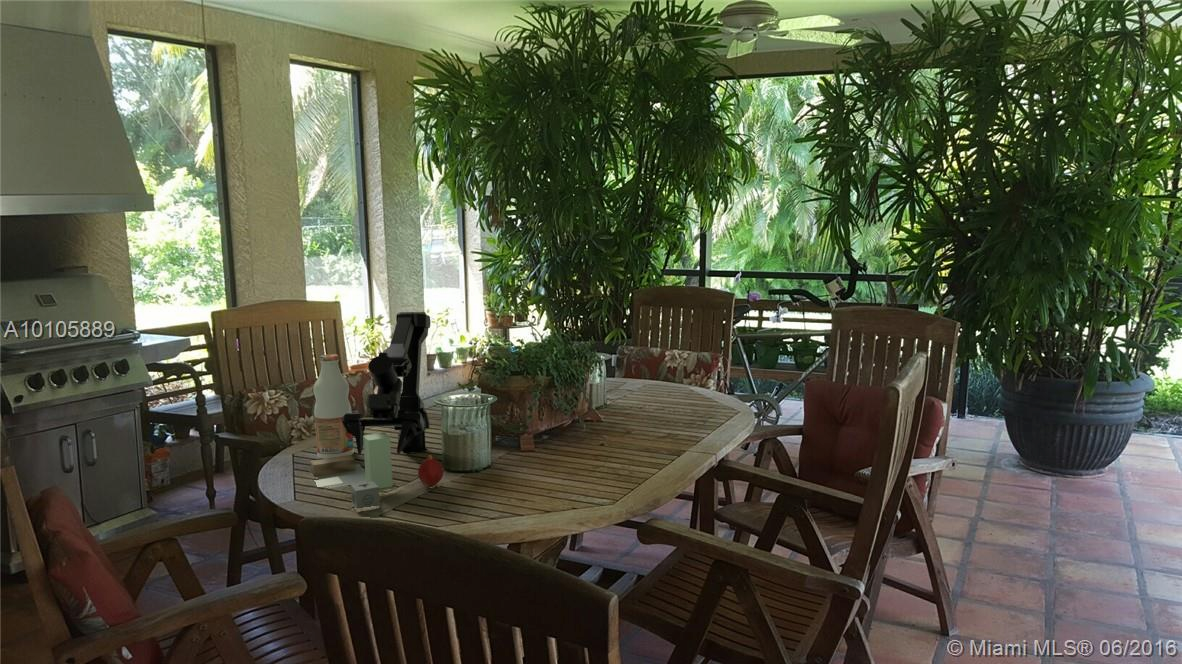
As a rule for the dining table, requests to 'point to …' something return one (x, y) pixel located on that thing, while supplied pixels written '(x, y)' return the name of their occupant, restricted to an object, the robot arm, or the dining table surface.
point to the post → (378, 460)
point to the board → (342, 478)
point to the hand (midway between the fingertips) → (378, 453)
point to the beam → (332, 465)
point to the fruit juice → (331, 410)
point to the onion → (430, 471)
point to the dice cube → (365, 494)
